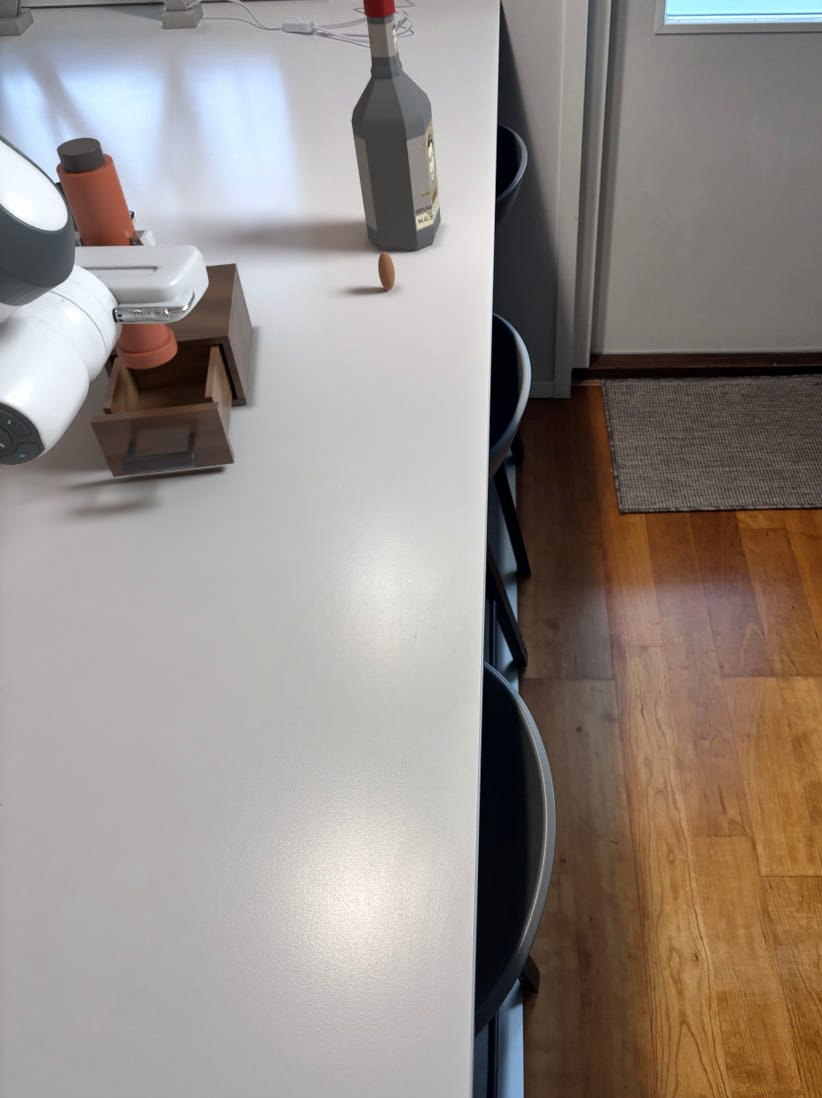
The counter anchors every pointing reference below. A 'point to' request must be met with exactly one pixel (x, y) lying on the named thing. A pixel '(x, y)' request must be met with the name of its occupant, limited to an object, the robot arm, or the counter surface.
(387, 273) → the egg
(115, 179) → the pepper mill
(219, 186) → the counter surface
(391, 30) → the liquor
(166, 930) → the counter surface
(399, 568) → the counter surface
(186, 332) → the cabinet
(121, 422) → the drawer
